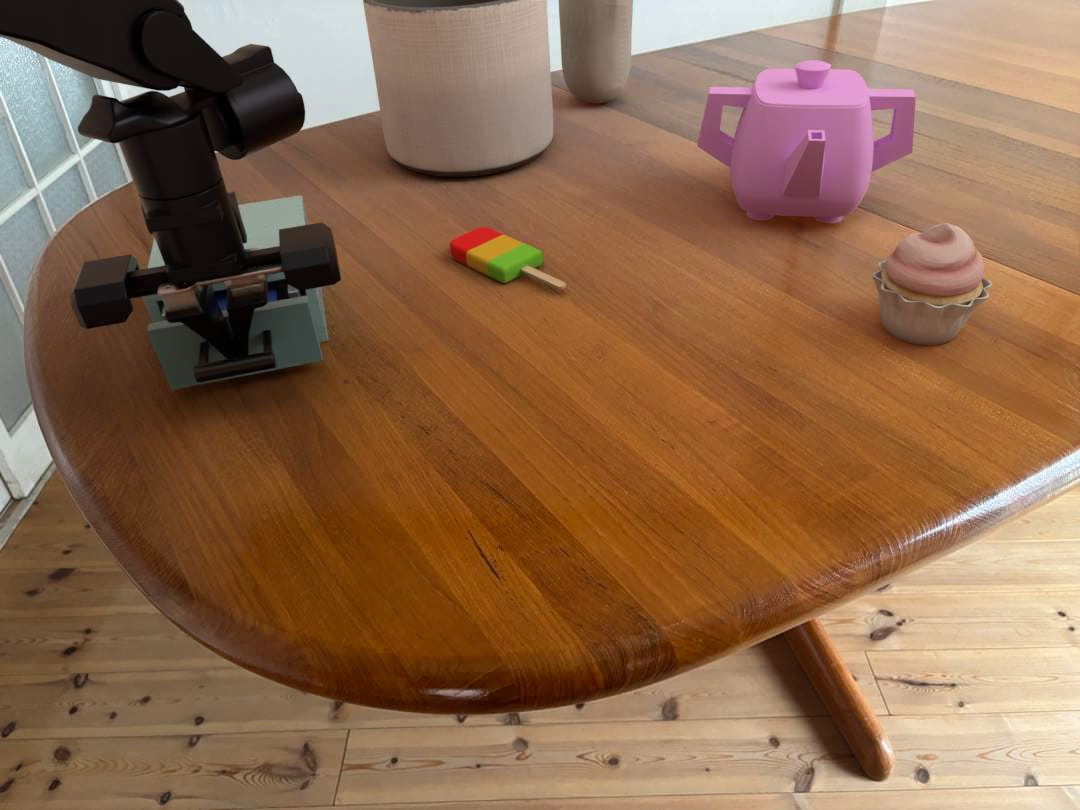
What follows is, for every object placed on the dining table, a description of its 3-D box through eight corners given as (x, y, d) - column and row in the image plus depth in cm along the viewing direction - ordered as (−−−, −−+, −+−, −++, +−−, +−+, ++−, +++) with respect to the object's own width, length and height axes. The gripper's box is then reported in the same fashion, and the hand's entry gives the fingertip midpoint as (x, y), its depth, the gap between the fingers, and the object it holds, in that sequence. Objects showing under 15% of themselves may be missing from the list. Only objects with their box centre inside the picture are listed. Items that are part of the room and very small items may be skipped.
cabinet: (328, 341, 75) (309, 265, 70) (172, 370, 73) (141, 294, 68) (318, 263, 87) (301, 194, 83) (183, 287, 85) (158, 217, 80)
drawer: (327, 393, 67) (311, 332, 64) (166, 425, 65) (140, 364, 61) (314, 282, 82) (300, 228, 79) (183, 305, 80) (162, 250, 76)
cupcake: (842, 331, 72) (864, 226, 66) (891, 289, 77) (915, 188, 71) (949, 371, 67) (983, 261, 60) (994, 323, 72) (1030, 217, 66)
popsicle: (485, 239, 90) (483, 223, 89) (584, 284, 81) (583, 267, 80) (446, 257, 87) (443, 241, 86) (544, 306, 78) (543, 289, 77)
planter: (584, 157, 107) (581, -12, 94) (421, 197, 100) (394, 19, 87) (512, 110, 123) (501, -40, 111) (367, 141, 116) (338, -15, 104)
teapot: (799, 256, 83) (824, 105, 74) (676, 200, 95) (683, 64, 86) (917, 203, 91) (951, 61, 82) (789, 158, 103) (807, 30, 94)
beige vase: (550, 101, 125) (541, -114, 108) (601, 86, 130) (600, -123, 113) (591, 116, 119) (588, -110, 102) (643, 100, 124) (649, -119, 106)
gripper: (309, 126, 65) (348, 296, 75) (59, 163, 62) (134, 335, 72) (317, 178, 57) (360, 362, 66) (28, 224, 53) (118, 410, 63)
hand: (242, 364), depth 67 cm, fingers closed
